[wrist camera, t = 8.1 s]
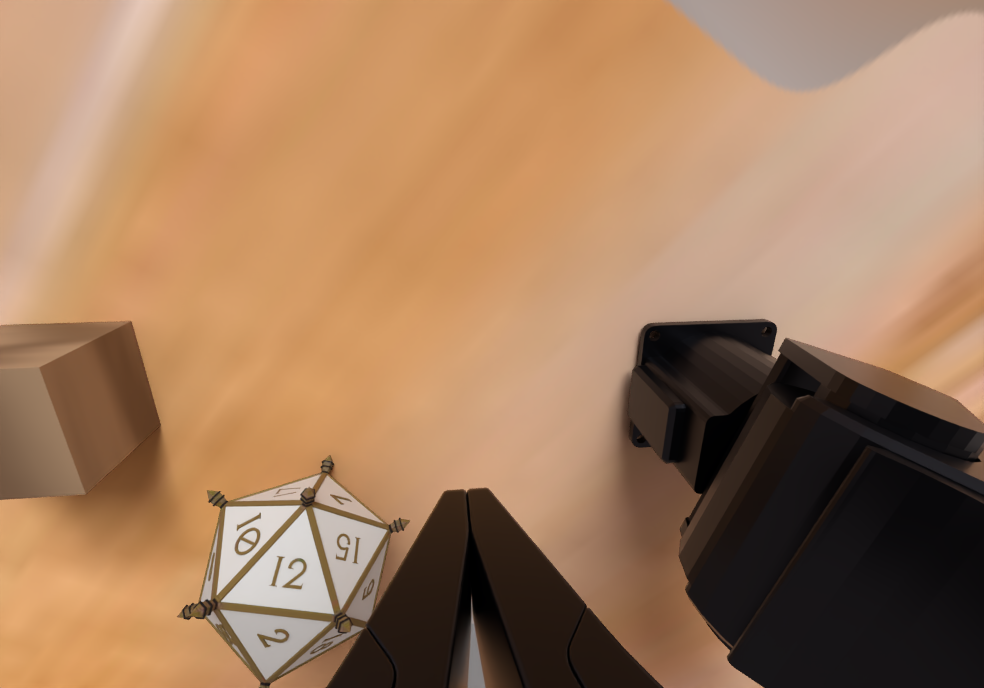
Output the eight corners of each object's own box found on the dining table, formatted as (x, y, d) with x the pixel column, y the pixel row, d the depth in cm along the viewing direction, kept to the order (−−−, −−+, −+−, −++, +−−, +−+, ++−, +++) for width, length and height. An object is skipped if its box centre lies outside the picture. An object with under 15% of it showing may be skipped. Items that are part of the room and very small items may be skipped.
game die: (344, 490, 28) (291, 699, 23) (201, 440, 23) (87, 698, 17) (456, 468, 23) (423, 729, 18) (307, 399, 18) (194, 739, 12)
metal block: (132, 320, 20) (39, 367, 15) (161, 424, 22) (85, 494, 17) (3, 324, 20) (-133, 374, 15) (43, 430, 21) (-68, 503, 17)
